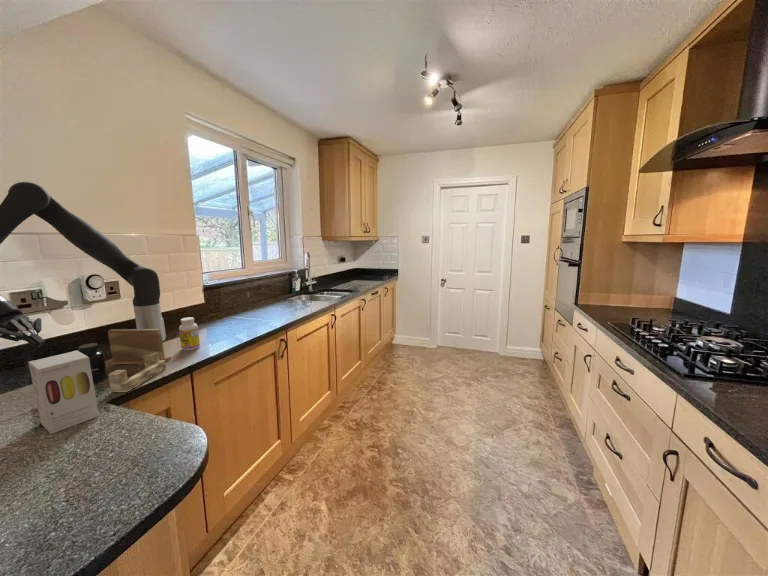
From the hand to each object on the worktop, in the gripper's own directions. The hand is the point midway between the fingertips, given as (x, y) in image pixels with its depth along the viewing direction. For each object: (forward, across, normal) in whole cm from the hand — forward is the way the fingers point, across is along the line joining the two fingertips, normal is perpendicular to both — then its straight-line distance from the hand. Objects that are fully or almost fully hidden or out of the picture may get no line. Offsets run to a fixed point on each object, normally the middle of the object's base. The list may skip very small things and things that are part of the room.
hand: (41, 345), depth 101 cm
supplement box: (+30, -22, -12) cm, 39 cm away
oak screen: (+23, +15, -5) cm, 28 cm away
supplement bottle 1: (+20, 0, -2) cm, 20 cm away
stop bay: (+30, 0, -13) cm, 33 cm away
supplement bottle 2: (+30, +28, -12) cm, 43 cm away
